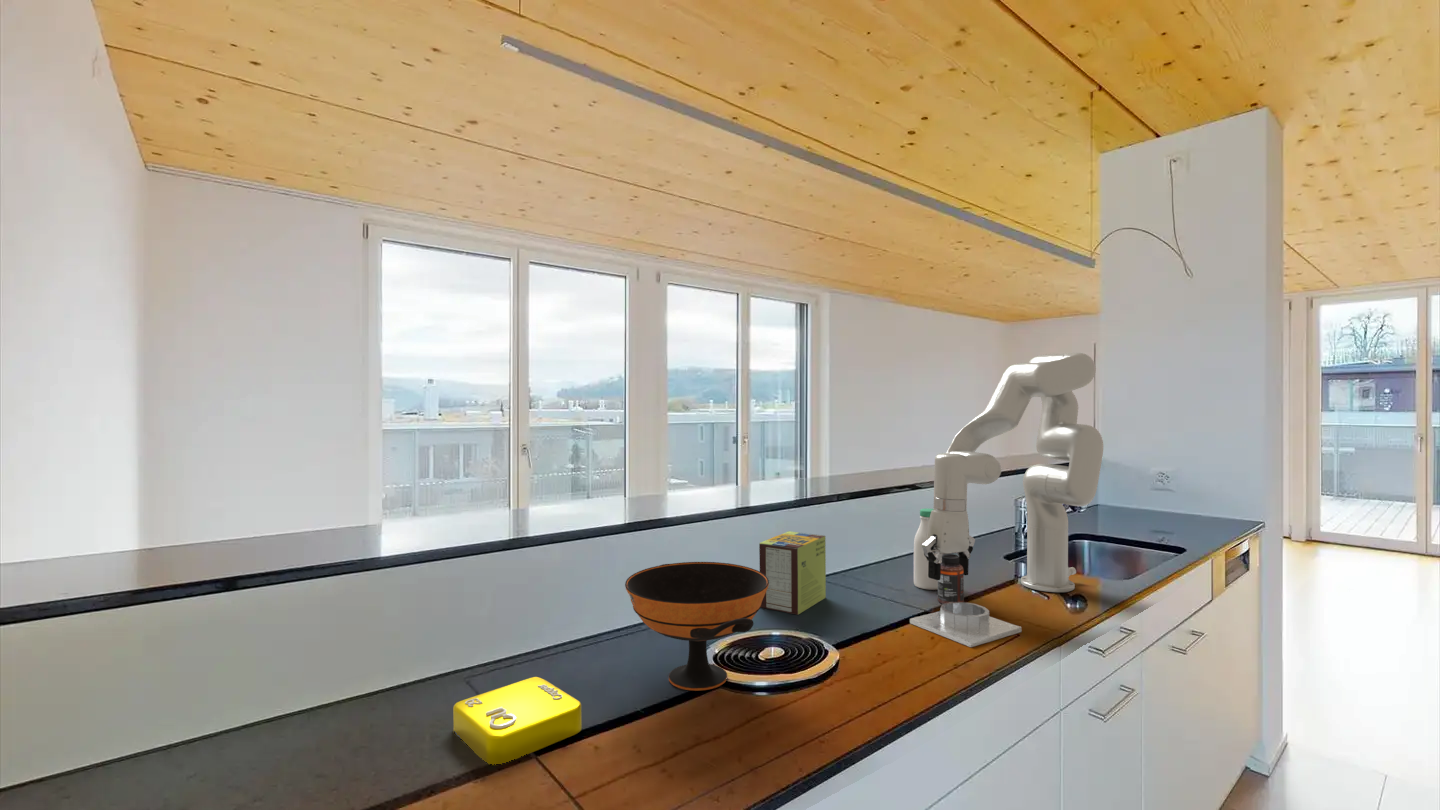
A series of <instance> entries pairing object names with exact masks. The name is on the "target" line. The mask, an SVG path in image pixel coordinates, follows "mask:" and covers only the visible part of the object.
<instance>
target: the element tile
mask: <svg viewBox="0 0 1440 810" xmlns="http://www.w3.org/2000/svg"><path fill="white" fill-rule="evenodd" d="M452 710H453V711H452V712H453V716H452V717H453V732H454V731H455V732H456V733H457V735H459V736H460V738H461V739H462V740H463V741H464V742H465V743H466V744H467V745H468V746H469V747H470V748H471V749H472V750H473V751H474V752H473V751H472V750H471V749H470V748H469V747H468V746H467V745H466V744H465V743H464V742H463V741H462V740H461V741H462V742H463V743H464V744H465V745H466V746H467V747H468V748H469V749H470V750H471V751H472V752H473V753H474V754H475V755H476V756H478V757H479V759H481V758H482V759H481V760H482V761H483V760H484V761H485V762H487V763H488V765H490V764H492V765H491V766H497V765H496V764H501V765H503V764H502V763H505V764H507V763H506V762H508V763H510V762H512V761H511V760H513V761H515V760H518V759H520V758H522V757H525V756H527V755H529V754H531V753H534V752H537V751H539V750H541V749H544V748H546V747H548V746H551V745H553V744H557V743H558V742H561V741H563V740H565V739H567V738H568V739H569V738H571V737H572V736H575V735H577V734H578V733H580V732H581V731H582V728H583V727H582V724H583V723H582V722H583V721H582V703H581V701H579V700H578V699H577V698H575V697H574V696H572V695H570V694H568V693H567V692H565V691H563V690H562V689H561V688H559V687H557V686H556V685H554V684H552V683H551V682H550V681H548V680H546V679H544V678H541V677H538V676H533V677H529V678H526V679H523V680H520V681H517V682H514V683H511V684H508V685H505V686H502V687H501V686H500V687H498V688H496V689H492V690H489V691H487V692H484V693H480V694H477V695H475V696H471V697H469V698H466V699H462V700H460V701H457V702H456V703H454V705H453V709H452ZM526 754H527V755H526ZM524 755H525V756H524ZM521 756H522V757H521ZM514 759H515V760H514ZM484 761H483V762H484ZM509 761H510V762H509ZM485 762H484V763H485ZM487 763H486V764H487ZM494 764H495V765H494Z"/></svg>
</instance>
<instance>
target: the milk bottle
mask: <svg viewBox="0 0 1440 810" xmlns="http://www.w3.org/2000/svg"><path fill="white" fill-rule="evenodd" d="M932 510H934V508H920V510H919V519H920V523H919V526H918V529H917V530H916V532H915V535H914V540H913V584H914V586H915V587H916V588H920V589H922V590H930V591H931V590H933V591H934V590H935V591H936V590H937V591H938V580H935V579H931V578H929V577H928V562H929V561H927V559H926V557H925V555H924V551H923V549H922V544H923V543H925V542H926V541H927V535H928V525H929V519H930V515H931V511H932ZM936 555H937V554H936V553H935V555H934V556H935V557H936ZM941 562H942V557H941V559H940V561H939V563H941Z"/></svg>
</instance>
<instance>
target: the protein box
mask: <svg viewBox="0 0 1440 810" xmlns="http://www.w3.org/2000/svg"><path fill="white" fill-rule="evenodd" d="M758 549H759V552H758V553H759V571H760V572H761V573H763V574H764V575H766V576H767V578H768V580H769V586H768V588H767V591H766V593H765V595H764V598H763V600H762V605H761V608H763V609H767V610H772V611H776V612H781V613H782V612H783V613H786V614H792V615H795V616H797V615H800V614H802V613H803V612H806V610H808V609H810V608H811V607H813V606H814V605H816V604H819V602H821V601H823V600H824V599H826V594H827V593H826V590H827V589H826V586H827V584H826V582H827V581H826V580H827V579H826V578H827V577H826V576H827V575H826V573H827V571H826V569H827V568H826V566H827V564H826V563H827V561H826V560H827V558H826V556H827V555H826V535H824V534H823V535H822V534H812V533H807V532H805V533H804V532H797V531H790V530H789V531H786V532H783V533H781V534H778V535H775V536H773V537H771V538H768V539H766V540H763V541H761V542H759V548H758ZM761 608H760V609H761Z"/></svg>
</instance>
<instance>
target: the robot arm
mask: <svg viewBox="0 0 1440 810" xmlns="http://www.w3.org/2000/svg"><path fill="white" fill-rule="evenodd" d="M1096 369H1097V368H1096V364H1095V360H1094V359H1093V358H1092V357H1091V356H1089V355H1088V354H1086V353H1083V352H1069V353H1066V352H1065V353H1050V354H1047V353H1046V354H1040V355H1037V356H1034V357H1032V358H1031V359H1030V360H1029V361H1028V362H1023V363H1022V362H1021V363H1014V364H1012V365H1009V366H1008V367H1007V368H1006V369H1005V370H1004V372H1003V374H1002V376H1001V377H1000V379H999V381H998V384H997V385H996V387H995V390H994V391H993V393H992V395H991V397H990V399H989V401H988V402H987V404H986V405H985V408H984V409H983V411H982V412H981V413H980V414H978V415H977V416H976V417H974V418H973V419H971V420H970V421H969V422H968V423H966V425H964V426H963V427H962V428H961V429H960V430H959V431H958V432H957V433H956V435H954V438H953V439H952V441H951V442H950V445H949V447H948V449H947V451H946V452H944V453H943V452H942V453H938V454H937V455H935V458H934V469H933V471H934V476H933V477H934V478H933V509H934V510H932V511H931V515H930V519H929V525H928V535H927V541H926V542H925V543H923V544H922V549H923V551H924V555H925V557H926V559H927V561H929V562H928V577H929V578H931V579H935V580H940V578H941V563H939V561H940V559H941V557H942V555H943V554H944V555H945V554H957V556H959V564H960V565H962V567H963V574H964V576H969V565H970V563H969V562H970V561H969V560H970V558H971V554H972V552H973V550H974V545H975V543H976V539H975V538H974V537H973V536H972V535H970V524H969V516H968V515H969V514H968V510H967V509H968V507H967V506H968V484H977V485H989V484H992V483H995V482H996V481H997V480H998V479H999V478H1000V476H1001V474H1002V466H1001V463H1000V461H999V459H998V458H996V457H995V456H993V455H991V454H989V453H984V452H977V451H976V450H977V449H978V448H980V446H981V445H983V444H984V443H985V442H987V441H989V440H991V439H993V438H995V437H998V436H1001V435H1004V434H1005V433H1008V432H1010V431H1013V430H1014V429H1015V428H1017V427H1018V425H1019V424H1020V421H1021V419H1022V417H1023V415H1024V413H1025V412H1026V410H1027V407H1028V405H1029V404H1030V401H1031V400H1032V398H1034V397H1035V398H1040V399H1041V413H1040V417H1039V418H1040V419H1039V424H1038V431H1037V436H1036V451H1037V453H1038V454H1039V455H1040V456H1042V457H1043V458H1045V459H1050V460H1056V461H1064V462H1065V461H1066V462H1068V463H1069V464H1068V466H1067V465H1060V464H1052V463H1037V464H1034V465H1032V466H1030V467H1029V468H1027V469H1026V471H1025V473H1024V475H1023V477H1022V478H1023V479H1022V484H1023V485H1022V487H1023V491H1024V494H1025V501H1026V510H1027V511H1026V512H1027V515H1026V516H1027V518H1026V519H1027V522H1026V523H1027V524H1026V526H1027V527H1026V529H1027V530H1026V531H1027V532H1026V535H1027V537H1026V545H1027V547H1026V550H1027V551H1026V557H1027V558H1026V575H1022V576H1021V578H1020V584H1021V585H1022V586H1024V587H1026V588H1028V589H1031V590H1036V591H1041V592H1047V593H1048V592H1049V593H1068V592H1073V590H1075V589H1076V587H1075V586H1076V585H1075V582H1073V581H1071V580H1070V578H1069V577H1070V576H1072V575H1076V574H1077V570H1076V568H1075V567H1073V566H1072V567H1069V518H1068V513H1067V511H1066V508H1065V506H1064V505H1067V506H1073V507H1085V506H1087V505H1089V504H1090V503H1092V501H1093V500H1094V498H1095V496H1096V493H1097V490H1098V485H1099V479H1100V474H1101V473H1100V472H1101V468H1102V463H1103V457H1104V456H1103V455H1104V440H1103V437H1102V435H1101V433H1100V431H1099V429H1097V428H1096V427H1094V426H1092V425H1088V424H1082V423H1077V422H1078V415H1079V403H1078V399H1077V396H1076V395H1075V393H1074V392H1073V391H1075V390H1079V389H1081V388H1084V387H1085V386H1087V385H1089V384H1090V383H1091V382H1092V381H1093V380H1094V378H1095V375H1096ZM935 553H936V554H937V555H936V557H935V556H934V555H935Z"/></svg>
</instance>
